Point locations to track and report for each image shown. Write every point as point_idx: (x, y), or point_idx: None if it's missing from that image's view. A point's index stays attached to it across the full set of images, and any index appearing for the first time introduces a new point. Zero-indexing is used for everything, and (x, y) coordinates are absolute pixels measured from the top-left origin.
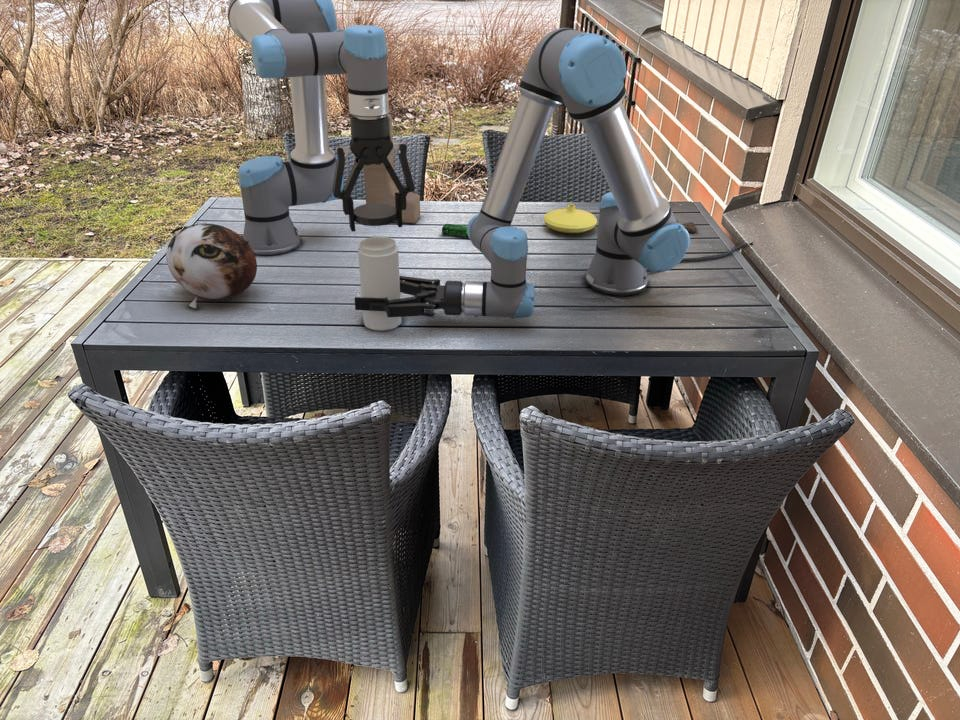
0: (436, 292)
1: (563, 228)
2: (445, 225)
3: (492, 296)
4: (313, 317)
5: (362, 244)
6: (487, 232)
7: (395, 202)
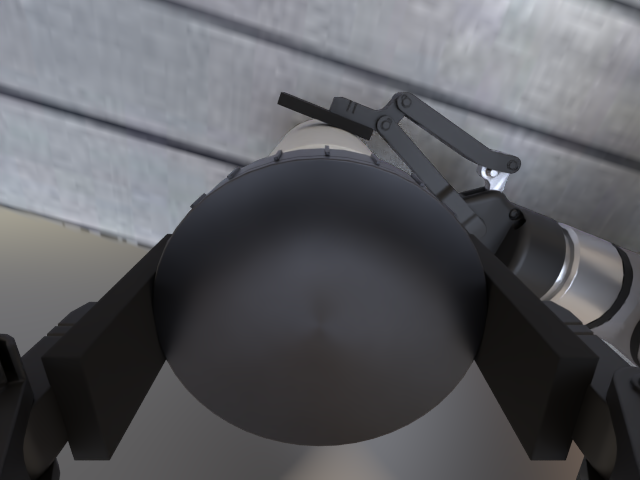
0: None
1: None
2: None
3: (597, 335)
4: (147, 92)
5: None
6: None
7: (509, 309)
